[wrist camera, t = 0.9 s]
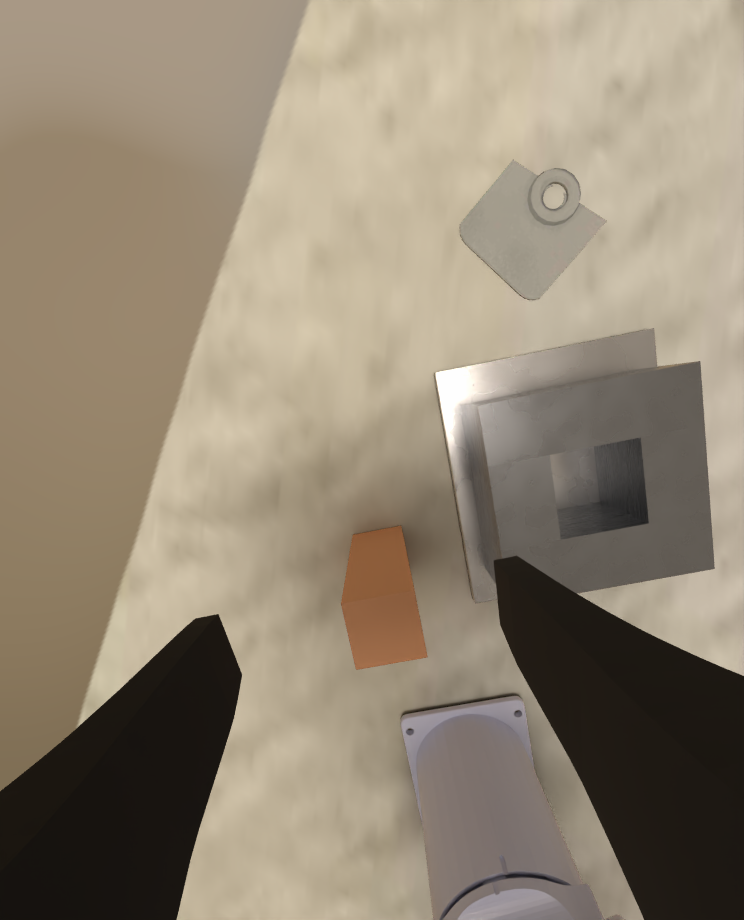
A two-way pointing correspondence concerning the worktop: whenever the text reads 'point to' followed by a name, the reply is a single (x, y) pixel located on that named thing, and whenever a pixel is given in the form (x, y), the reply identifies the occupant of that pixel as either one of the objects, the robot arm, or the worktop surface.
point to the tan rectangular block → (381, 601)
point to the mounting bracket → (529, 228)
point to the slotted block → (580, 464)
